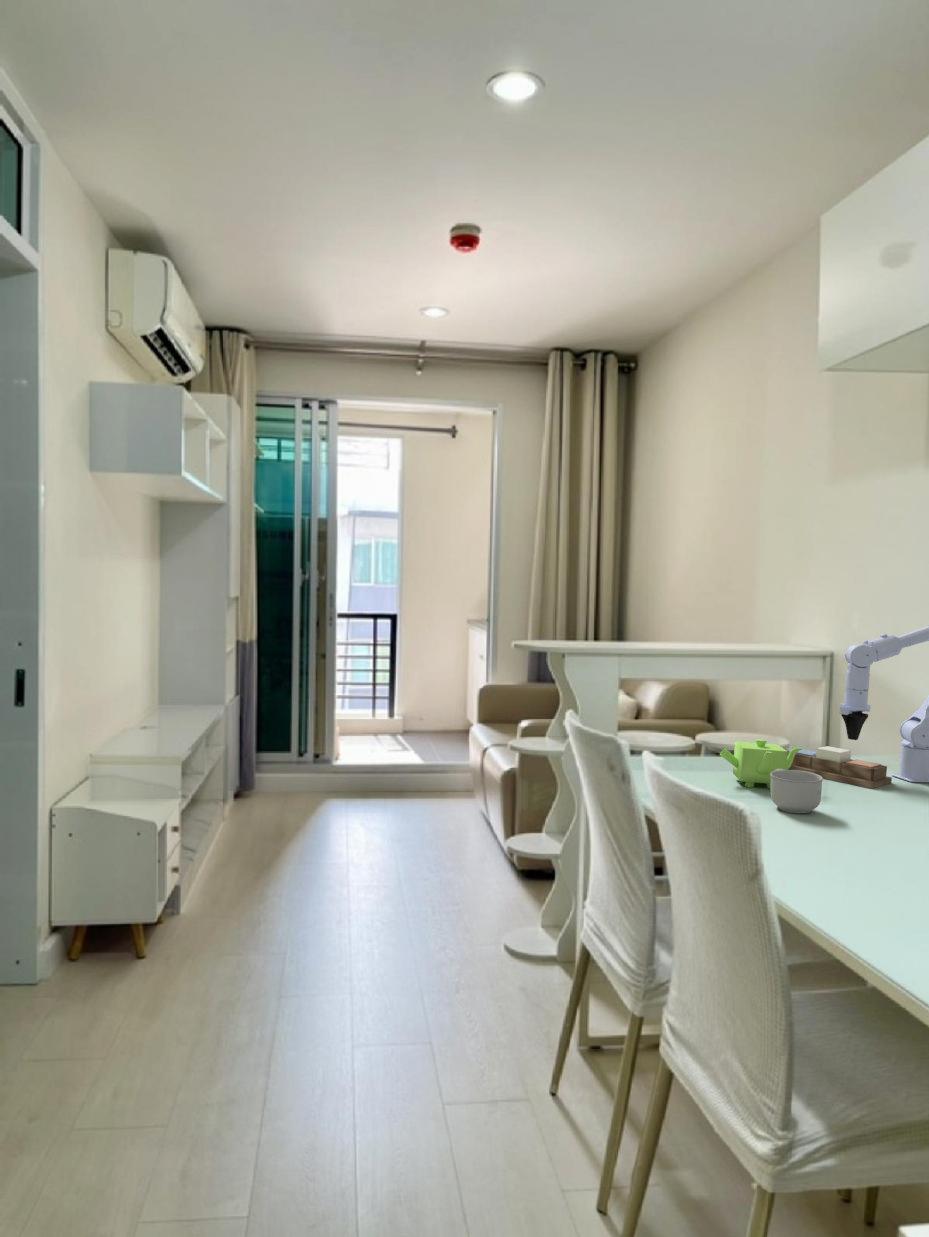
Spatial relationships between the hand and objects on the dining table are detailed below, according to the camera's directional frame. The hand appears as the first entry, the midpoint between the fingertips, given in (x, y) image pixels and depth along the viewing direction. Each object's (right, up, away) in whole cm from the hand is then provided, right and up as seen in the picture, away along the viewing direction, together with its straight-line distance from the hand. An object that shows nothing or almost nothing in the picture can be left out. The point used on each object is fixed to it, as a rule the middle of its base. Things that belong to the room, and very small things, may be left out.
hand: (852, 739), depth 236 cm
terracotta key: (-1, -8, -9) cm, 12 cm away
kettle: (-32, -9, -20) cm, 39 cm away
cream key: (-7, -5, -3) cm, 9 cm away
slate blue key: (-12, -7, +3) cm, 14 cm away
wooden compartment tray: (-7, -9, -3) cm, 12 cm away
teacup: (-32, -10, -41) cm, 53 cm away
